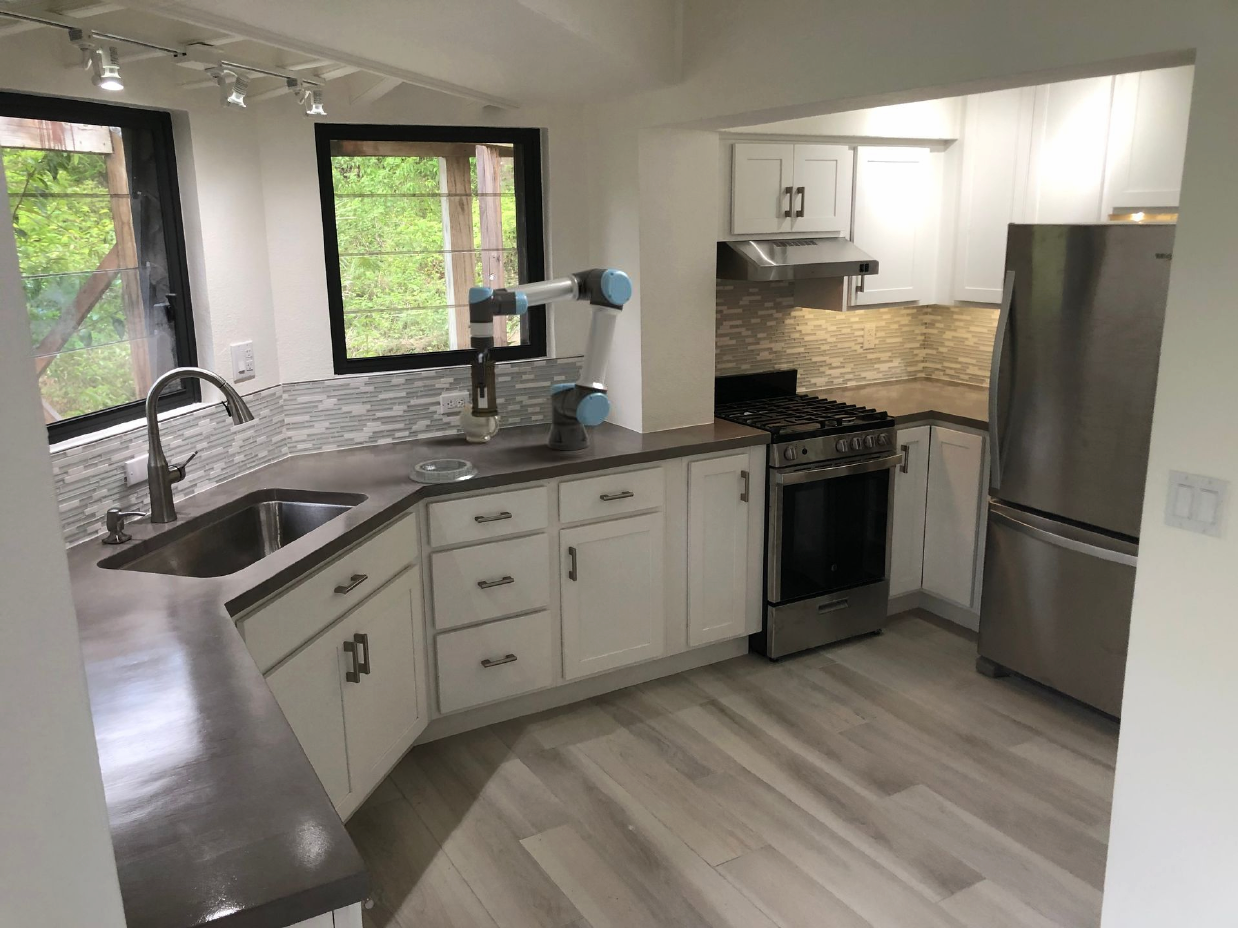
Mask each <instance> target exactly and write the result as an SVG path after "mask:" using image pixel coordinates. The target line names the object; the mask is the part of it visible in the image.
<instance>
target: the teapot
mask: <svg viewBox="0 0 1238 928" xmlns="http://www.w3.org/2000/svg"><path fill="white" fill-rule="evenodd" d="M471 408H472V402H471V403H469V404H467V405H462V406H461V409H462V410H461V412H460V414H459V418H458V419H459V420H458V424H459V427H460V429H461V432H463V434H465V435H466V441H468V442H469V443H474V444H481V443H486V442H489V441H490V440H491V437H492V436H494V435H496V434H497V432H498V431H499V428H500V427H499V426H500V422H499V418H498V415H497V416H494V417H485V418H482V417H474V416H472V415H471V412H472V411H473V410H472V409H471Z"/></svg>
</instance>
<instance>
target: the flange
mask: <svg viewBox="0 0 1238 928" xmlns="http://www.w3.org/2000/svg"><path fill="white" fill-rule="evenodd" d="M478 473H479V470H478V469H477V468H475V467H473V465H472V463H471V461H467V460H465V459H464V460H463V459H457V458H453V459H451V458H445V459H444V458H443V459H442V458H441V459H432V460H426V461H422V462H420V463H418V464H416V465H414V470H413V471H411V472H410V473H409V479H410V480H411V481H413V482H416V483H419V484H428V485H429V484H430V485H442V484H446V485H447V484H455V483H459V482H465V481H468V480H472V479H474V478H475V477H477V476H478Z"/></svg>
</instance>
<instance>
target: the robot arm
mask: <svg viewBox="0 0 1238 928" xmlns="http://www.w3.org/2000/svg"><path fill="white" fill-rule="evenodd" d="M632 294H633V283H632V281H631V279H630V277H629V276H628V275H627V273H625V272H624V271H622V270H618V269H615V268H614V269H613V268H590V269H586V270H585V269H584V270H582V271H577V272H573V273H568V274H566V275H565V276H564V277H561V278H557V279H555V278H554V279H549V280H543V281H538V282H536V281H535V282H531V283H525V284H519V285H512V286H507V287H501V288H494V289H493V288H492V287H491V286H472V287H470V288H469V290H468V311H469V324H468V326H467V328H468V329H470V330H469V334H470V335H471V336H470V337H469V338H470V348H471V349H477V353H476V354H475V360H477V386H475V387H476V388H478V405H479V408H487V388H486V369H485V362H487V361H488V360H489V359H490V351H489V350H488V349H493V348H494V347H495V337H494V334H495V331H494V329H495V328H494V327H495V326H494V317H503V316H505V317H506V316H507V317H508V316H519V315H524V314H525V313H526V312H527V311H528V307H531V306H539V305H544V304H549V303H555V302H561V301H566V300H568V301H570V302H577V301H583V302H585V301H586V302H589V304H588V305H589V307H590V309H591V311H592V313H591V319H590V322H589V328H588V334H587V339H586V344H585V345H586V346H585V350H584V355H583V359H582V361H583V362H582V367H581V372H580V378H579V379H578V380H576V381H575V382H567V383H566V382H565V383H558V384H553V385H552V386H551V387H550V395H549V396H550V411H551V414H550V415H551V428H550V431H549V434H548V437H547V448H548V449H551V450H555V451H556V450H558V451H575V450H576V451H577V450H582V449H586V448H588V447H589V445H590V439H589V436H588V434H587V430H586V428H585V425H586V426H597V425H599V424H601V423H603V422H604V421H605V420H606V419H607V418H608V416H609V413H610V411H611V402H610V401H609V398H608V397H607V395H608V394H607V393H608V387H607V386H606V384H605V380H606V375H607V370H608V365H609V364H608V363H609V359H610V354H611V348H612V343H613V338H614V332H615V328H616V322H617V317H618V315H619V314H621V313H622V312H623V308H624V305H625V304H626V303H627V302H628V301H630V299H631V297H632ZM486 367H487V366H486Z"/></svg>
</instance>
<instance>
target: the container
mask: <svg viewBox="0 0 1238 928" xmlns="http://www.w3.org/2000/svg"><path fill="white" fill-rule="evenodd" d="M496 364H497V362H496V360H495V359H490V358H489V360H488V361H487V362H485V369H486V388H487V408H479V405H478V388H476V387H475V386H477V360H476V359H472V360H469V365H470V369H471V370H470V371H471V372H470V376H471V392H472V393H471V403H472V408H471V409H472V410H473V411H472V412H471V415H472V416H474V417H482V418H485V417H494V416H497V417H498V415H499V410H498V404H497V394H496V392H497V391H496V390H497V389H496V371H495V370H496V369H495V368H496ZM486 366H487V367H486Z"/></svg>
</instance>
